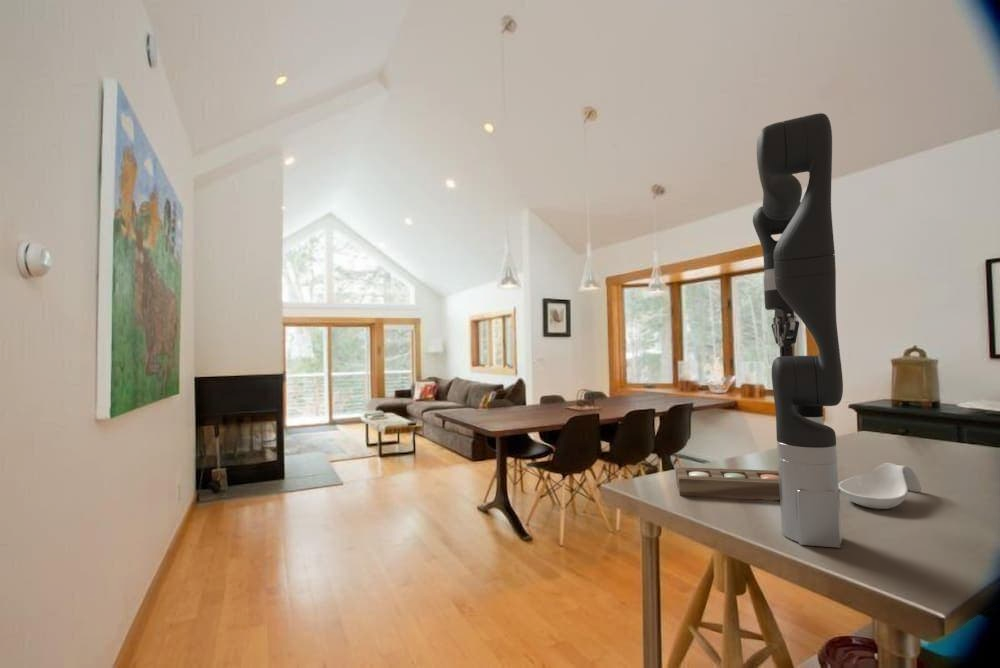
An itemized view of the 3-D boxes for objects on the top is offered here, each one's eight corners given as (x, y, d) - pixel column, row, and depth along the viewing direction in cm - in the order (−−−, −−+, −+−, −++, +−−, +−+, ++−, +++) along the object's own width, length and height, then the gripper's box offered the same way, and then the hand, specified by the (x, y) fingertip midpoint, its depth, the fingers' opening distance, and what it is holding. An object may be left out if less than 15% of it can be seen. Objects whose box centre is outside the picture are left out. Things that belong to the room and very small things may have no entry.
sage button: (747, 490, 110) (747, 478, 110) (726, 489, 111) (725, 477, 111) (743, 484, 114) (742, 473, 114) (723, 483, 115) (722, 472, 116)
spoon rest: (893, 519, 93) (891, 483, 93) (828, 503, 103) (826, 470, 103) (940, 497, 104) (938, 464, 105) (877, 484, 115) (875, 455, 115)
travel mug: (799, 483, 117) (794, 403, 117) (796, 476, 123) (792, 400, 123) (829, 486, 114) (824, 404, 115) (825, 479, 120) (820, 401, 120)
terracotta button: (786, 492, 107) (785, 480, 108) (763, 491, 109) (763, 479, 109) (780, 486, 112) (779, 474, 112) (758, 485, 113) (758, 473, 113)
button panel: (804, 502, 104) (803, 484, 104) (679, 495, 111) (679, 478, 111) (789, 487, 114) (788, 471, 114) (676, 482, 122) (675, 467, 122)
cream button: (710, 488, 112) (710, 476, 112) (690, 487, 113) (689, 476, 113) (708, 483, 116) (707, 471, 117) (688, 482, 118) (687, 471, 118)
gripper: (810, 283, 101) (815, 363, 101) (791, 290, 114) (795, 361, 113) (772, 286, 103) (776, 364, 103) (757, 292, 116) (761, 362, 116)
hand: (786, 362), depth 108 cm, fingers closed
